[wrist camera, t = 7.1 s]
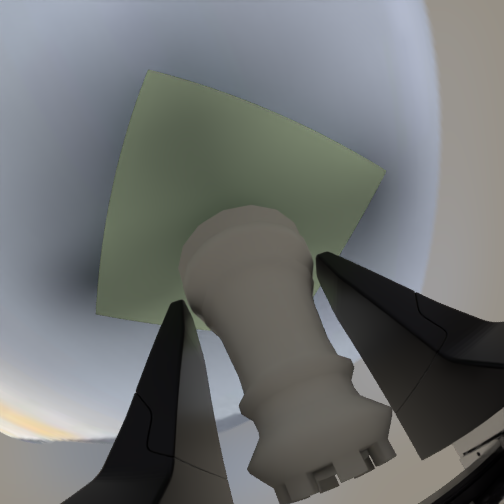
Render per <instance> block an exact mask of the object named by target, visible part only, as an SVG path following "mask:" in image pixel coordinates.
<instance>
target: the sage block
mask: <svg viewBox="0 0 504 504" xmlns="http://www.w3.org/2000/svg"><path fill="white" fill-rule="evenodd" d="M385 173H386V170H384V169H382V168H381V167H379V166H378V165H376V164H374V163H373V162H371V161H369V160H367V159H366V158H364V157H362V156H361V155H359V154H357V153H355V152H354V151H352V150H350V149H348V148H346V147H345V146H343V145H341V144H339V143H337V142H335V141H333V140H331V139H330V138H328V137H326V136H324V135H322V134H320V133H318V132H316V131H314V130H312V129H310V128H308V127H306V126H303V125H301V124H299V123H297V122H295V121H293V120H291V119H288V118H286V117H284V116H282V115H280V114H277V113H275V112H273V111H270V110H268V109H266V108H263V107H261V106H258V105H256V104H253V103H251V102H248V101H246V100H243V99H241V98H238V97H235V96H232V95H230V94H227V93H224V92H221V91H219V90H216V89H213V88H210V87H207V86H204V85H201V84H197V83H194V82H191V81H188V80H184V79H181V78H178V77H174V76H171V75H167V74H163V73H159V72H155V71H151V70H148V71H147V74H146V76H145V79H144V82H143V84H142V87H141V90H140V92H139V95H138V98H137V101H136V104H135V107H134V110H133V113H132V116H131V119H130V122H129V125H128V129H127V132H126V136H125V139H124V143H123V146H122V150H121V154H120V157H119V161H118V165H117V169H116V174H115V178H114V182H113V187H112V192H111V196H110V201H109V207H108V212H107V218H106V224H105V230H104V236H103V243H102V250H101V258H100V267H99V277H98V288H97V302H96V314H97V315H102V316H108V317H114V318H119V319H125V320H132V321H138V322H145V323H152V324H159V325H162V322H163V320H164V317H165V315H166V312H167V310H168V308H169V305H170V304H171V303H172V302H174V301H177V300H180V299H182V300H184V301H185V303H186V305H187V307H188V309H189V311H190V313H191V315H192V317H193V320H194V323H195V327H196V329H200V330H210V329H209V328H208V327H207V326H206V324H205V323H204V322H203V321H202V320H201V319H200V318H199V317H198V316H197V315H195V314H194V313H193V311H192V310H191V308H190V306H189V305H188V302H187V299H186V295H185V292H184V289H183V286H182V285H183V283H182V280H181V277H180V273H179V270H178V267H179V262H180V257H181V253H182V248H183V245H184V244H185V243H186V241H187V240H188V239H189V237H190V236H191V235H192V233H193V232H194V231H195V229H196V228H197V227H198V225H200V224H202V223H203V222H205V221H206V220H208V219H210V218H211V217H213V216H215V215H216V214H218V213H219V212H221V211H223V210H227V209H232V208H237V207H242V206H247V205H255V206H260V207H266V208H271V209H276V210H278V211H279V212H280V213H282V214H283V215H285V216H286V217H287V218H289V219H290V220H291V221H293V222H294V223H295V225H296V227H297V229H298V231H299V234H300V235H301V236H302V237H303V238H304V240H305V242H306V244H307V246H308V249H309V251H310V253H311V255H312V259H313V263H314V267H313V280H314V288H313V296H314V295H315V293H316V292H317V290H318V289H319V287H320V283H319V281H318V278H317V275H316V255H317V254H320V253H323V252H326V251H328V252H331V253H333V254H335V255H338V256H339V255H340V253H341V252H342V250H343V248H344V247H345V245H346V243H347V241H348V240H349V238H350V236H351V235H352V233H353V231H354V229H355V228H356V226H357V224H358V222H359V221H360V219H361V217H362V215H363V214H364V212H365V210H366V208H367V206H368V205H369V203H370V201H371V199H372V197H373V195H374V194H375V192H376V190H377V188H378V186H379V184H380V182H381V180H382V179H383V177H384V175H385ZM210 331H212V330H210Z"/></svg>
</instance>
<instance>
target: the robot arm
mask: <svg viewBox="0 0 504 504" xmlns="http://www.w3.org/2000/svg"><path fill="white" fill-rule="evenodd" d="M316 275H317V278H318V281H319V283H320V285H321V287H322V289H323V291H324V293H325V295H326V297H327V299H328V301H329V303H330V305H331V307H332V309H333V312H334V313H335V315H336V317H337V319H338V321H339V322H340V324H341V325H342V327H343V329H344V330H345V332H346V333H347V335H348V336H349V338H350V340H351V341H352V343H353V344H354V346H355V348H356V349H357V351H358V352H359V354H360V356H361V357H362V359H363V361H364V362H365V364H366V365H367V367H368V369H369V370H370V372H371V374H372V375H373V377H374V379H375V380H376V382H377V384H378V385H379V387H380V388H381V390H382V392H383V393H384V395H385V397H386V398H387V400H388V402H389V404H390V405H391V407H392V409H393V411H394V412H395V413H396V416H397V418H398V419H399V421H400V423H401V425H402V426H403V428H404V430H405V432H406V433H407V435H408V437H409V439H410V440H411V442H412V444H413V446H414V447H415V449H416V451H417V453H418V455H419V456H420V458H421V460H424V459H426V458H428V457H430V456H432V455H433V454H435V453H437V452H439V451H441V450H442V449H444V448H446V447H447V446H449V445H451V444H452V445H453V446H454V448H455V450H456V451H457V453H458V455H459V456H460V462H461V463H462V465H463V467H464V469H465V470H464V471H463V472H461V473H460V474H459V475H458V476H456V477H455V478H454V479H453V480H451V481H450V482H449V483H447V484H446V485H445V486H443V487H442V488H441V489H439V490H438V491H436V492H435V493H434V494H432V495H431V496H429V497H428V498H426V499H425V500H423V501H422V502H420V503H419V504H504V322H489V321H485V320H482V319H479V318H477V317H474V316H472V315H469V314H466V313H464V312H461V311H459V310H456V309H453V308H451V307H448V306H446V305H444V304H441V303H439V302H436V301H434V300H432V299H430V298H428V297H425V296H423V295H421V294H419V293H417V292H416V293H415V291H413V290H411V289H409V288H407V287H405V286H403V285H400V284H398V283H396V282H394V281H392V280H390V279H388V278H386V277H383V276H381V275H379V274H377V273H375V272H373V271H371V270H368V269H366V268H364V267H362V266H360V265H358V264H355V263H353V262H351V261H349V260H347V259H344V258H342V257H340V256H338V255H335V254H333V253H331V252H328V251H326V252H323V253H320V254H317V255H316ZM61 504H234V503H233V500H232V496H231V491H230V487H229V484H228V480H227V475H226V470H225V466H224V462H223V458H222V453H221V448H220V443H219V438H218V433H217V428H216V422H215V417H214V412H213V406H212V401H211V395H210V389H209V383H208V377H207V371H206V365H205V360H204V356H203V353H202V349H201V346H200V342H199V338H198V335H197V331H196V327H195V323H194V320H193V317H192V315H191V313H190V311H189V309H188V307H187V305H186V303H185V301H184V300H182V299H180V300H177V301H174V302H172V303H171V304H170V305H169V308H168V310H167V312H166V315H165V317H164V320H163V322H162V325H161V327H160V329H159V332H158V334H157V337H156V339H155V342H154V344H153V347H152V349H151V352H150V354H149V357H148V359H147V362H146V365H145V367H144V370H143V373H142V375H141V378H140V380H139V383H138V386H137V389H136V393H135V394H134V396H133V399H132V402H131V405H130V407H129V410H128V412H127V415H126V418H125V420H124V422H123V424H122V427H121V429H120V431H119V433H118V435H117V438H116V440H115V442H114V444H113V446H112V448H111V450H110V453H109V455H108V457H107V459H106V461H105V464H104V466H103V467H102V469H101V471H100V472H99V474H98V475H97V476H96V477H95V478H94V479H93V480H92V481H91V482H90V483H89V484H87V485H86V486H84V487H83V488H82V489H80V490H79V491H77V492H76V493H75V494H73V495H72V496H71V497H69V498H68V499H66V500H65V501H63V502H62V503H61Z"/></svg>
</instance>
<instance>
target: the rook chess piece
mask: <svg viewBox="0 0 504 504" xmlns="http://www.w3.org/2000/svg"><path fill="white" fill-rule="evenodd" d="M313 267H314V263H313V259H312V255H311V253H310V251H309V249H308V246H307V244H306V242H305V240H304V238H303V237H302V236H301V235H300V234H299V231H298V229H297V227H296V225H295V223H294V222H293V221H291V220H290V219H289V218H287V217H286V216H285V215H283V214H282V213H280V212H279V211H278V210H276V209H271V208H266V207H260V206H255V205H247V206H242V207H237V208H232V209H227V210H223V211H221V212H219V213H218V214H216V215H215V216H213V217H211V218H210V219H208V220H206V221H205V222H203V223H202V224H200V225H198V227H197V228H196V229H195V231H194V232H193V233H192V235H191V236H190V237H189V239H188V240H187V241H186V243H185V244H184V245H183V248H182V253H181V257H180V262H179V267H178V270H179V273H180V277H181V280H182V283H183V285H182V286H183V289H184V292H185V295H186V299H187V302H188V305H189V306H190V308H191V310H192V311H193V313H194V314H195V315H197V316H198V317H199V318H200V319H201V320H202V321H203V322H204V323H205V324H206V326H207V327H208V328H209V329H210V330H212V331H213V332H214V333H215V334H216V335H217V336H219V337H220V339H221V340H222V342H223V344H224V347H225V349H226V351H227V353H228V355H229V357H230V359H231V362H232V364H233V366H234V368H235V370H236V372H237V374H238V376H239V379H240V382H241V386H242V389H243V392H244V396H243V398H242V400H241V402H240V404H239V408H240V411H241V414H242V415H244V416H245V417H247V418H249V419H250V420H252V421H253V422H254V424H255V426H256V428H257V430H258V432H259V437H260V438H259V441H258V443H257V446H256V448H255V451H254V453H253V456H252V458H251V461H250V463H249V466H248V468H247V470H248V471H249V473H250V474H251V475H253V476H255V477H256V478H258V479H260V480H261V481H262V482H264V483H266V484H267V485H269V486H271V487H272V488H274V490H275V493H276V495H277V498H278V501H279V503H280V504H290V503H294V502H297V501H300V500H303V499H306V498H308V497H310V495H313V494H316V493H318V492H320V493H323V492H325V491H328V490H330V489H333V488H335V487H338V486H339V484H338V481H337V479H336V477H335V475H336V474H337V475H338V477H339V479H340V482H341V483H342V482H345V481H347V480H349V479H351V478H353V477H354V478H357V477H360V476H362V475H364V474H365V473H368V472H370V471H371V470H373V469H375V468H374V466H373V464H372V462H371V460H370V458H369V455H370V456H371V458H372V460H373V462H374V464H375V466H380V465H382V464H384V463H386V462H388V461H389V460H391V459H392V458H394V457H396V453H395V451H394V450H393V448H392V446H391V444H390V442H389V441H388V434H389V429H390V424H391V417H392V407H390V406H387V405H384V404H382V403H379V402H376V401H374V400H371V399H368V398H365V397H363V396H361V395H359V393H358V392H357V391H356V389H355V388H354V386H353V384H352V381H351V379H352V375H353V370H354V366H353V363H352V361H351V359H349V358H346V357H342V356H339V355H337V353H336V351H335V349H334V348H333V346H332V344H331V343H330V341H329V339H328V337H327V335H326V332H325V330H324V327H323V324H322V322H321V319H320V317H319V314H318V312H317V309H316V307H315V304H314V300H313V288H314V280H313Z"/></svg>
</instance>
